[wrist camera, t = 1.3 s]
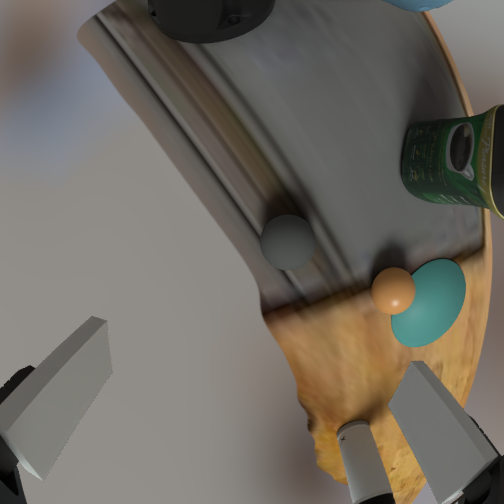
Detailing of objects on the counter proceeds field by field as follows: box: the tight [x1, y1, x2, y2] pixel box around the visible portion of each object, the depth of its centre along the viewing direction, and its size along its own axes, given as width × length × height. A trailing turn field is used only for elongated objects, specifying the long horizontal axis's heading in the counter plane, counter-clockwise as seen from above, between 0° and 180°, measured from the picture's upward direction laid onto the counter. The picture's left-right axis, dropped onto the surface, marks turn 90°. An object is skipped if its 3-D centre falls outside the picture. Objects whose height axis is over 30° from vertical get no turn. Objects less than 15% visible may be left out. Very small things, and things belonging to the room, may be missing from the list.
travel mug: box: [337, 420, 396, 504], centre depth 30 cm, size 6×7×20 cm
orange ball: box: [371, 267, 416, 315], centre depth 28 cm, size 6×6×6 cm
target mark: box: [391, 259, 466, 347], centre depth 32 cm, size 14×14×1 cm
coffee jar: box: [402, 104, 504, 220], centre depth 18 cm, size 10×8×19 cm
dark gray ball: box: [260, 214, 316, 270], centre depth 27 cm, size 6×6×6 cm
